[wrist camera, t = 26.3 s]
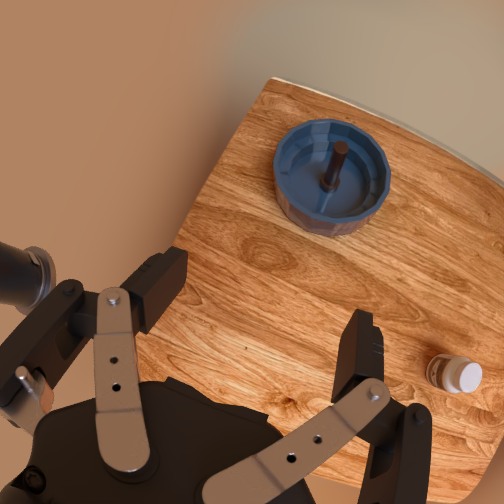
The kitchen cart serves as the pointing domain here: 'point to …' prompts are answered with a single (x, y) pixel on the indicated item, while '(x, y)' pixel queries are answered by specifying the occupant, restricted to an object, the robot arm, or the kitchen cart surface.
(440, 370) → the pill bottle
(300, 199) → the bowl
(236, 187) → the kitchen cart surface
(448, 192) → the kitchen cart surface
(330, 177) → the brown rubber stamp
